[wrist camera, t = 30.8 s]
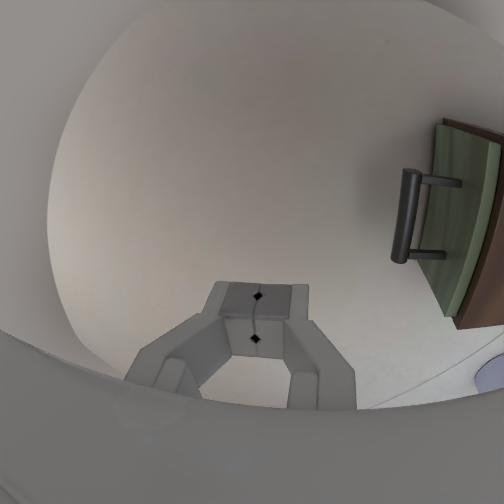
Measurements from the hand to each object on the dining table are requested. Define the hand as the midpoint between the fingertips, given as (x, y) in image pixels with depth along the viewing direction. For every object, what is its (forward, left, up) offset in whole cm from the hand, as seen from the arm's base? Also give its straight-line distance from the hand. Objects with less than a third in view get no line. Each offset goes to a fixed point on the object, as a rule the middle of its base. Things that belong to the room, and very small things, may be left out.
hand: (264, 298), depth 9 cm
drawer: (+2, +18, -16) cm, 24 cm away
